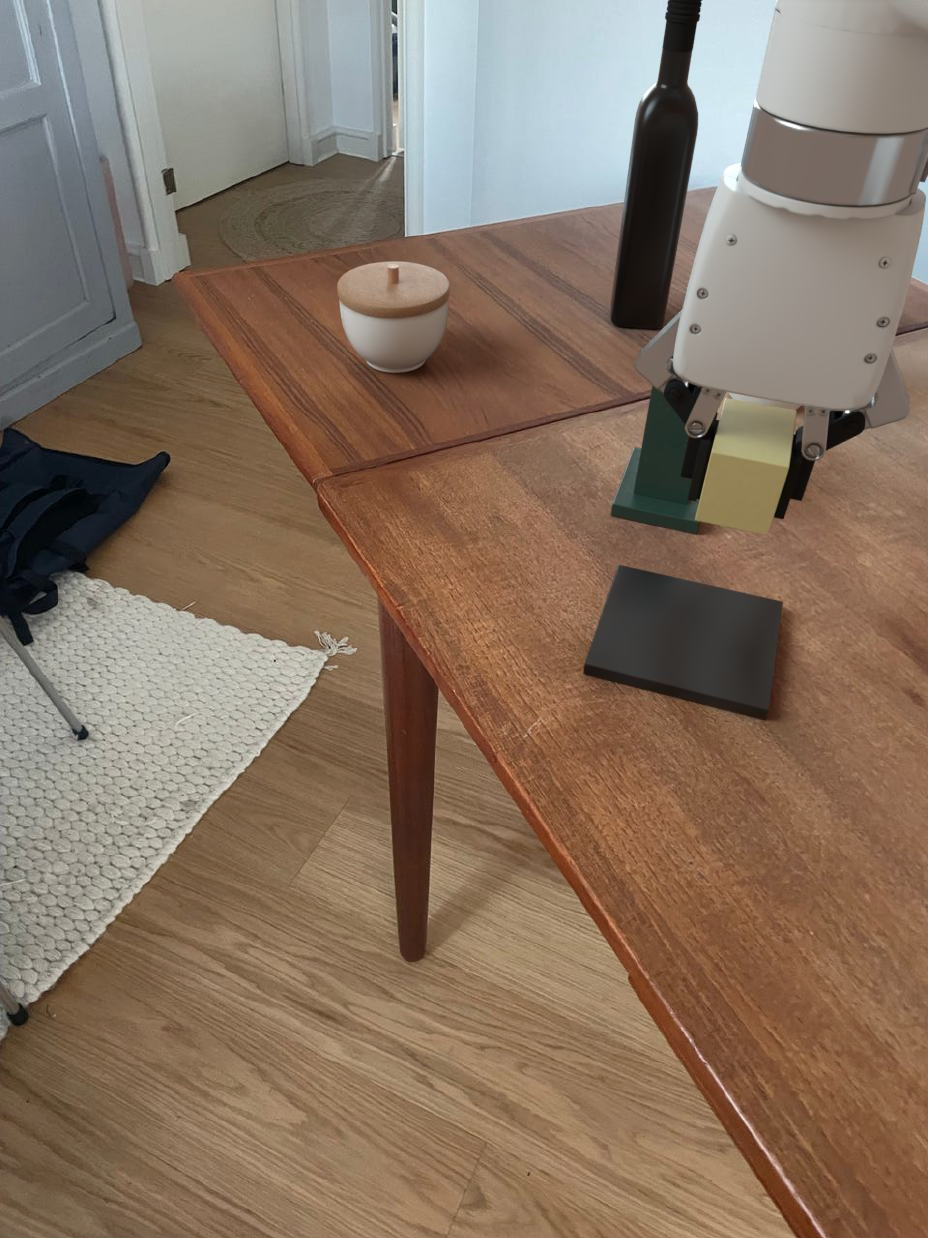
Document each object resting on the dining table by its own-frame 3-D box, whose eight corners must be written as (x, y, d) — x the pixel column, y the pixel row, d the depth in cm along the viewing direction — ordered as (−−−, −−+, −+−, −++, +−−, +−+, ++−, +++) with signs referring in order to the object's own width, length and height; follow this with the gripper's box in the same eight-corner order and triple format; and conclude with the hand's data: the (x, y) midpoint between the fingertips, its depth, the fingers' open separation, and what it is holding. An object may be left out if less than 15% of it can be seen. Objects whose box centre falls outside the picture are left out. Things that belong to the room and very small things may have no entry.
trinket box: (349, 389, 89) (342, 293, 83) (336, 337, 97) (329, 247, 91) (458, 379, 91) (460, 285, 85) (438, 330, 99) (438, 240, 92)
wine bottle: (660, 308, 104) (716, -14, 83) (663, 331, 100) (722, -2, 79) (609, 304, 104) (652, -17, 84) (610, 327, 100) (655, -5, 80)
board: (779, 611, 67) (783, 601, 67) (765, 720, 60) (769, 710, 59) (616, 574, 70) (618, 563, 69) (582, 674, 62) (584, 663, 62)
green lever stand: (712, 474, 80) (746, 333, 71) (697, 534, 74) (732, 389, 65) (632, 458, 82) (655, 318, 73) (610, 516, 75) (633, 371, 67)
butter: (776, 477, 55) (797, 410, 52) (767, 536, 51) (789, 467, 48) (708, 463, 56) (725, 396, 53) (694, 520, 52) (711, 451, 49)
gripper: (1027, 154, 42) (889, 490, 54) (656, 110, 45) (607, 435, 58) (1048, 211, 37) (890, 568, 49) (627, 156, 40) (579, 502, 53)
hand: (738, 493), depth 53 cm, fingers closed on butter, 4 cm apart
